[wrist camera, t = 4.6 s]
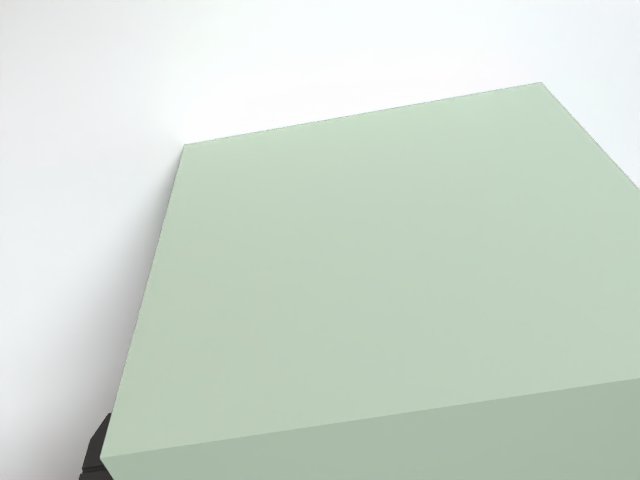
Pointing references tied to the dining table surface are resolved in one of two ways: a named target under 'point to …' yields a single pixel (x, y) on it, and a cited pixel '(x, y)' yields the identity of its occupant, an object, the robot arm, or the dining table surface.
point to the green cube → (391, 304)
